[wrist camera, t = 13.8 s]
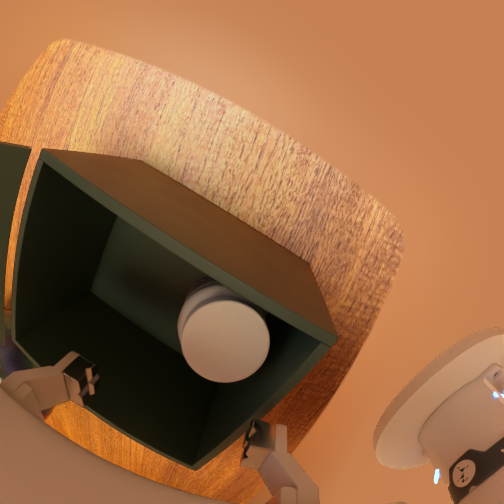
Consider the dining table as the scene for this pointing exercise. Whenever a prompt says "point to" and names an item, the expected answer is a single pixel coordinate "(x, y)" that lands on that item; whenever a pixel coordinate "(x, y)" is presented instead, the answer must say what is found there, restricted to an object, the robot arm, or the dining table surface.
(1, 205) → the dark green box lid
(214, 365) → the pill bottle
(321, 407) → the dining table surface
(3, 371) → the vase
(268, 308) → the open box
